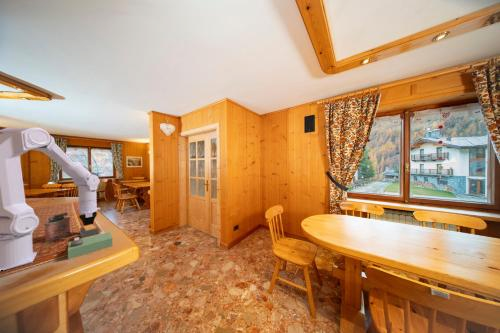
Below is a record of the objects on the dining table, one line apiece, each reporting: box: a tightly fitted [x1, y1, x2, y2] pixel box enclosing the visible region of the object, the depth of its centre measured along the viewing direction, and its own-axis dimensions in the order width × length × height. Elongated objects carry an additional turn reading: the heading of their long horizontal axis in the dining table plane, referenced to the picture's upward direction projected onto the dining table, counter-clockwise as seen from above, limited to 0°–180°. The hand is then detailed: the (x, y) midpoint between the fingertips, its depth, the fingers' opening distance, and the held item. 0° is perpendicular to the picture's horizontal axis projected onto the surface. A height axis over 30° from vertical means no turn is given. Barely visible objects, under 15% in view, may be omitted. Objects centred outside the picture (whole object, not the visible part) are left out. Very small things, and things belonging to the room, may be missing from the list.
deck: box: [67, 230, 113, 260], centre depth 59 cm, size 11×13×4 cm
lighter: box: [43, 212, 72, 243], centre depth 67 cm, size 8×3×10 cm, turn 179°
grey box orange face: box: [79, 223, 100, 239], centre depth 67 cm, size 4×7×5 cm, turn 55°
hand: (88, 229), depth 71 cm, fingers closed
